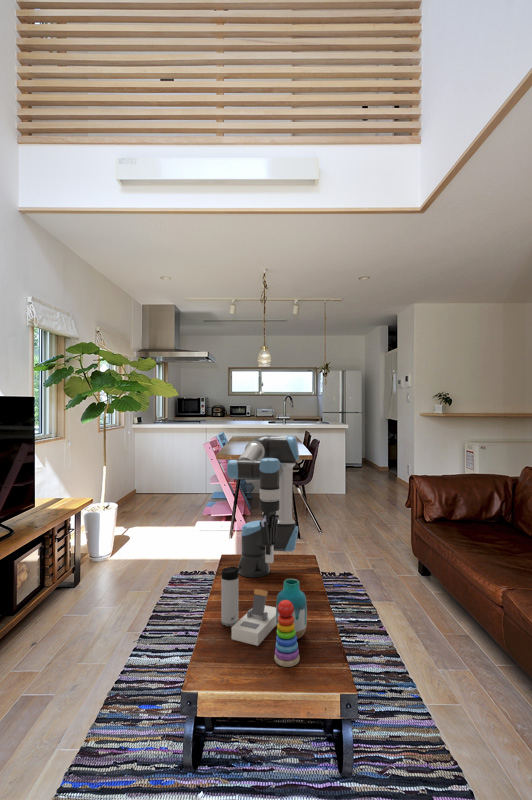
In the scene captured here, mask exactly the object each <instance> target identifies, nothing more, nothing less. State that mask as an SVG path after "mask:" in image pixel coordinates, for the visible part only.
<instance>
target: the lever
mask: <svg viewBox="0 0 532 800" xmlns="http://www.w3.org/2000/svg"><path fill="white" fill-rule="evenodd" d="M268 593H269V591H268V590H262V589H257V588H256V589H255V588H254V590H253V595H254V596H253V600H252V601H253V602H252V608H251V609H252V612H251V616H255V617H259V618H262V615H263V614H264V608H265V605H266V600H267V597H268Z"/></svg>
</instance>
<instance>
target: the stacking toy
mask: <svg viewBox="0 0 532 800" xmlns="http://www.w3.org/2000/svg"><path fill="white" fill-rule="evenodd" d="M293 611H294V607H293V604H292V603H291V602H290V601H288V600H283V601H281V602H280V603H279V605H278V613H279V614H280V616H279V617H278V622H279V623H278V625H276V636H275V637H276V639H275V640H276V642H275V648H274V656H273V657H274V662H275V663H276V664H277V665H279V666H280V667H284V668H291V667H294V666H296V665H297V664H299V662H300V659H301V658H300V652H299V644H298V641H297V640H298V639H297V636H296V635H295V634H296V631H295V629H294V628H295V624H294V623H293V622H294V617H293V616H292V614H293ZM277 628H278V629H277Z"/></svg>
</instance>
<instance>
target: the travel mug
mask: <svg viewBox="0 0 532 800" xmlns="http://www.w3.org/2000/svg"><path fill="white" fill-rule="evenodd" d="M238 571H239V568H238V566H229V567H225V568H223V569H222V570H221V576H220V577H221V578H220V579H221V580H220V581H221V584H220V585H221V594H220V595H221V597H220V598H221V601H220V602H221V603H220V604H221V607H220V608H221V611H220V612H221V615H220V617H221V625H223V626H224V625H225V627H229V626H230V627H233V626H234V625H235V624H236V623H237V622H238V621H239V578H240V577H239V573H238Z"/></svg>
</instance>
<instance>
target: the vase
mask: <svg viewBox="0 0 532 800" xmlns="http://www.w3.org/2000/svg"><path fill="white" fill-rule="evenodd" d="M283 600H288V601H290V602H291V603H292V604H293V607H294V611H293V614H292V616H293V617H294V622H293V623H294V624H295V628H294V629H295V631H296V634H295V635H296V636H297V640H299V639H300V638H302V637H303V635H304V634H305V632H306V630H307V622H308V621H307V619H308V610H307V607H308V606H307V597H306V594H305V593H304V592H303V591H302V590H301V589H300V581H299V580H298V579H295V578H286V579H285V580H284V581H283V587H282V590H280V591H279V592H278V594H277V596H276V602H275V603H276V604H275V605H276V606H275V608H276V623H277V625H278V623H279V622H278V617H279V616H280V614H279V613H278V605H279V603H280V602H281V601H283ZM277 625H276V626H277ZM277 629H278V628H277V627H276V630H277Z"/></svg>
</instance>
